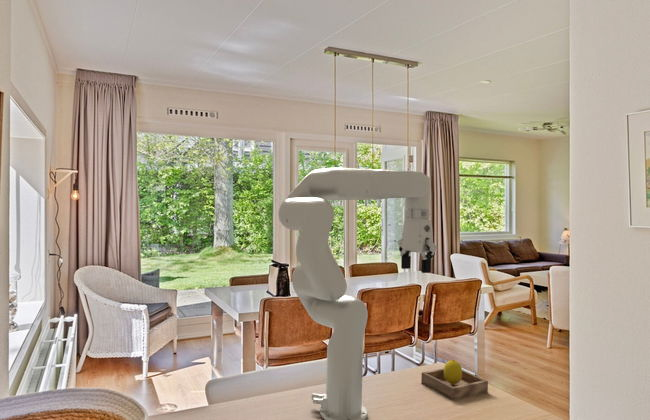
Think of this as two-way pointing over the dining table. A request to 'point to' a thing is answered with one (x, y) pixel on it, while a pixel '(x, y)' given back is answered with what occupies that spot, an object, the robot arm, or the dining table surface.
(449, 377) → the lemon
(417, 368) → the dining table surface
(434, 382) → the bin
